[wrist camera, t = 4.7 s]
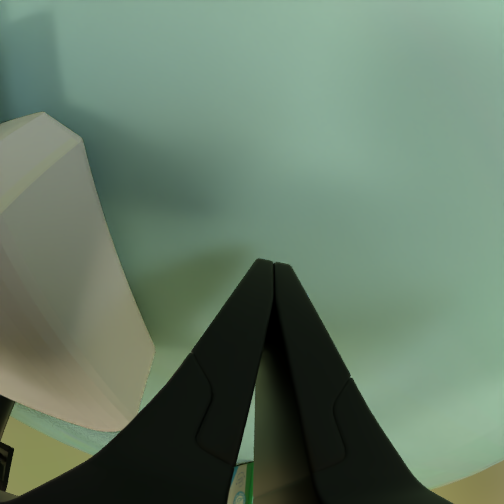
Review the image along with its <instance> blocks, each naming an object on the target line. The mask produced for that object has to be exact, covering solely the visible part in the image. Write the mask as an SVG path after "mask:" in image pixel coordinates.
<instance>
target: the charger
mask: <svg viewBox="0 0 504 504" xmlns="http://www.w3.org/2000/svg"><path fill="white" fill-rule="evenodd" d="M154 356H155V346H154V343H153V341H152V339H151V337H150V334H149V332H148V330H147V328H146V325H145V323H144V321H143V318H142V316H141V314H140V311H139V309H138V307H137V304H136V302H135V299H134V297H133V294H132V292H131V289H130V287H129V284H128V282H127V279H126V276H125V274H124V271H123V269H122V266H121V263H120V260H119V258H118V255H117V252H116V249H115V246H114V244H113V241H112V238H111V235H110V232H109V229H108V226H107V223H106V220H105V217H104V214H103V210H102V207H101V204H100V201H99V197H98V194H97V191H96V187H95V184H94V180H93V177H92V173H91V169H90V166H89V162H88V158H87V154H86V150H85V146H84V142H83V139H82V138H81V137H80V136H79V135H77V134H76V133H74V132H73V131H71V130H70V129H68V128H67V127H65V126H64V125H63V124H61V123H60V122H58V121H57V120H55V119H54V118H52V117H51V116H49V115H48V114H46V113H45V112H38V113H34V114H30V115H27V116H23V117H20V118H17V119H13V120H10V121H7V122H4V123H1V124H0V395H2V396H5V397H7V398H9V399H11V400H13V401H16V402H18V403H20V404H23V405H25V406H27V407H30V408H32V409H35V410H37V411H40V412H42V413H45V414H47V415H50V416H53V417H55V418H58V419H61V420H64V421H67V422H70V423H72V424H75V425H79V426H82V427H85V428H88V429H92V430H97V431H102V432H115V431H120V430H123V429H124V428H125V427H126V426H127V425H128V424H129V423H130V422H131V421H132V420H133V418H134V417H135V416H136V415H137V414H138V411H139V407H140V404H141V400H142V396H143V393H144V389H145V386H146V383H147V379H148V376H149V372H150V369H151V366H152V362H153V359H154Z"/></svg>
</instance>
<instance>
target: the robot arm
mask: <svg viewBox="0 0 504 504" xmlns="http://www.w3.org/2000/svg"><path fill="white" fill-rule="evenodd" d="M350 376H351V375H350V373H349V371H348V369H347V367H346V365H345V363H344V362H343V360H342V358H341V356H340V354H339V352H338V350H337V349H336V347H335V345H334V343H333V341H332V339H331V337H330V336H329V334H328V332H327V330H326V328H325V326H324V325H323V323H322V321H321V319H320V317H319V315H318V314H317V312H316V310H315V308H314V306H313V304H312V303H311V301H310V299H309V297H308V295H307V294H306V292H305V290H304V288H303V286H302V285H301V283H300V281H299V279H298V277H297V276H296V274H295V272H294V270H293V269H292V267H291V266H290V265H288V264H284V263H279V262H275V263H274V264H273V262H272V261H270V260H265V259H260V258H258V259H256V260H255V262H254V263H253V264H252V266H251V267H250V269H249V270H248V272H247V273H246V274H245V276H244V277H243V279H242V280H241V282H240V283H239V284H238V286H237V287H236V289H235V290H234V291H233V293H232V294H231V296H230V297H229V299H228V300H227V301H226V303H225V304H224V306H223V307H222V308H221V310H220V311H219V313H218V314H217V315H216V317H215V318H214V320H213V321H212V323H211V324H210V325H209V327H208V328H207V330H206V331H205V332H204V334H203V335H202V337H201V338H200V339H199V341H198V342H197V344H196V345H195V346H194V348H193V349H192V351H191V353H189V355H188V356H187V357H186V359H185V360H184V361H183V363H182V364H181V366H180V367H179V368H178V370H177V371H176V372H175V373H174V375H173V376H172V377H171V379H170V380H169V381H168V382H167V384H166V385H165V386H164V387H163V388H162V389H161V390H160V391H159V392H158V394H157V395H156V396H155V397H154V398H153V399H152V400H151V401H150V402H149V403H148V404H147V405H146V406H145V407H144V408H143V409H142V410H141V411H140V412H139V413H138V414H137V415H136V416H135V417H134V418H133V420H132V421H131V422H130V423H129V424H128V425H127V426H126V427H125V428H124V429H123V430H122V431H121V432H120V433H119V434H118V435H117V436H116V437H115V438H113V439H112V440H111V441H110V442H109V443H108V444H107V445H106V446H105V447H104V448H102V449H101V450H100V451H99V452H98V453H96V454H95V455H94V456H93V457H91V458H90V459H88V460H87V461H85V462H84V463H82V464H80V465H78V466H76V467H75V468H73V469H71V470H69V471H67V472H65V473H63V474H62V475H60V476H58V477H56V478H54V479H52V480H50V481H48V482H46V483H45V484H43V485H41V486H39V487H37V488H35V489H33V490H31V491H29V492H27V493H25V494H23V495H21V496H16V495H13V494H10V493H7V492H5V491H6V488H7V484H8V478H9V472H10V467H11V462H12V456H13V452H14V448H11V447H10V446H8V445H6V444H4V443H2V442H0V504H227V502H228V496H229V491H230V486H231V481H232V477H233V473H234V467H235V465H236V461H237V457H238V453H239V449H240V445H241V441H242V437H243V433H244V429H245V425H246V421H247V417H248V413H249V408H250V404H251V400H252V396H253V391H254V387H255V429H254V471H253V504H453V503H451V502H450V501H448V500H446V499H444V498H442V497H441V496H439V495H437V494H435V493H434V492H432V491H430V490H429V489H427V488H426V487H425V486H423V485H422V484H421V483H420V482H419V481H418V480H417V479H416V478H415V477H414V475H413V474H412V473H411V472H410V470H409V469H408V467H407V466H406V464H405V463H404V461H403V460H402V458H401V457H400V455H399V454H398V452H397V451H396V449H395V448H394V446H393V445H392V443H391V442H390V440H389V439H388V437H387V436H386V434H385V433H384V431H383V430H382V428H381V427H380V425H379V424H378V422H377V420H376V419H375V417H374V416H373V414H372V413H371V411H370V409H369V407H368V406H367V404H366V402H365V400H364V399H363V397H362V395H361V393H360V391H359V390H358V388H357V386H356V384H355V382H354V380H353V378H350ZM14 404H15V401H13V400H11V399H9V398H7V397H5V396H2V395H0V441H1V438H2V435H3V432H4V429H5V427H6V424H7V421H8V419H9V416H10V414H11V411H12V409H13V406H14Z"/></svg>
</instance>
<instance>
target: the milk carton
mask: <svg viewBox="0 0 504 504" xmlns="http://www.w3.org/2000/svg"><path fill="white" fill-rule="evenodd" d="M253 471H254V462H251V463H247V464H243V465H239V466H235V467H234V473H233V477H232V481H231V486H230V491H229V496H228V502H227V504H253Z"/></svg>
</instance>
